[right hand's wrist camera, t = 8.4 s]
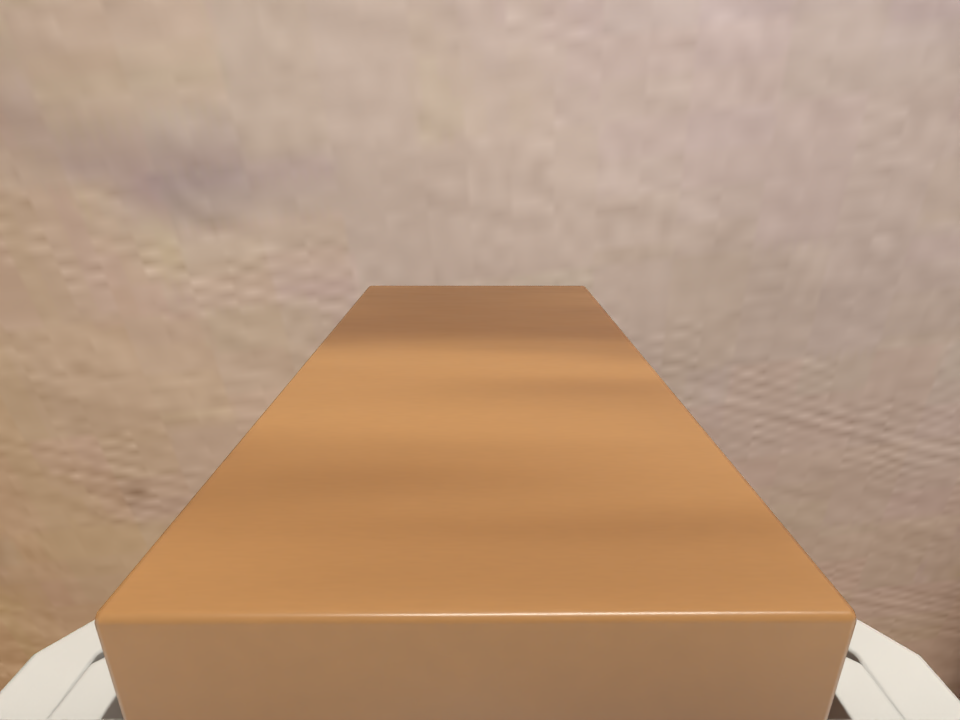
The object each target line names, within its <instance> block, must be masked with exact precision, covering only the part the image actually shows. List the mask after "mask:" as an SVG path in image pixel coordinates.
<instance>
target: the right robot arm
mask: <svg viewBox="0 0 960 720" xmlns="http://www.w3.org/2000/svg"><path fill="white" fill-rule="evenodd" d="M856 620H857V622H856V625H855V629H854V632H853V635H852V639H851V642H850V645H849V649H848V652H847V655H846V659H845V662H844V665H843V669H842V672H841V675H840V679H839V682H838V685H837V689H836V692H835V695H834V699H833V702H832V705H831V708H830V712H829V715H828V718H827V720H960V700H959V699H958V698H957V697H956V696H955V695H954V694H953V692H952V691H951V690H950V689H949V688H948V687H947V686H946V684H945V683H944V682H943V681H942V680H941V679H940V678H939V677H938V675H937V674H936V673H935V672H934V671H933V670H932V669H931V667H930V666H929V665H928V664H927V663H926V662H925V661H924V660H923V658H922V657H921V656H920V655H918V654H916V653H915V652H913V651H911V650H910V649H908V648H906V647H904V646H903V645H901V644H899V643H897V642H896V641H894V640H892V639H891V638H889V637H887V636H885V635H884V634H882V633H880V632H878V631H877V630H875V629H873V628H872V627H870V626H868V625H866V624H865V623H863V622H861V621H859V620H858V619H856ZM94 623H95V620H93V621H92V622H90V623H88V624H86V625H85V626H83V627H81V628H79V629H78V630H76V631H74V632H72V633H71V634H69V635H67V636H65V637H64V638H62V639H60V640H58V641H57V642H55V643H53V644H51V645H50V646H48V647H46V648H44V649H43V650H41V651H39V652H37V653H36V654H34V655H33V656H32V657H31V658H30V659H29V660H28V662H27V663H26V664H25V665H24V666H23V667H22V668H21V669H20V670H19V672H18V673H17V674H16V675H15V676H14V677H13V678H12V679H11V680H10V682H9V683H8V684H7V685H6V686H5V687H4V688H3V689H2V690H1V692H0V720H124V719H123V716H122V712H121V709H120V706H119V703H118V699H117V696H116V693H115V689H114V686H113V683H112V680H111V676H110V673H109V670H108V666H107V663H106V660H105V657H104V653H103V650H102V647H101V643H100V640H99V637H98V634H97V630H96V627H95V624H94Z"/></svg>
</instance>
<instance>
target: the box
mask: <svg viewBox="0 0 960 720" xmlns="http://www.w3.org/2000/svg"><path fill="white" fill-rule="evenodd" d="M856 622H857V620H856V615H855V612H854V610H853V609H852V608H851V606H850V605H849V604H848V603H847V602H846V600H845V599H844V598H843V597H842V595H841V594H840V593H839V592H838V591H837V589H836V588H835V587H834V586H833V585H832V583H831V582H830V581H829V580H828V579H827V577H826V576H825V575H824V574H823V573H822V571H821V570H820V569H819V568H818V567H817V565H816V564H815V563H814V562H813V561H812V559H811V558H810V557H809V556H808V555H807V553H806V552H805V551H804V550H803V549H802V547H801V546H800V545H799V544H798V543H797V541H796V540H795V539H794V538H793V537H792V535H791V534H790V533H789V532H788V531H787V529H786V528H785V527H784V526H783V525H782V523H781V522H780V521H779V520H778V518H777V517H776V516H775V515H774V514H773V512H772V511H771V510H770V509H769V508H768V506H767V505H766V504H765V503H764V502H763V500H762V499H761V498H760V497H759V496H758V494H757V493H756V492H755V491H754V490H753V488H752V487H751V486H750V485H749V484H748V482H747V481H746V480H745V479H744V478H743V476H742V475H741V474H740V473H739V472H738V470H737V469H736V468H735V467H734V466H733V464H732V463H731V462H730V461H729V460H728V458H727V457H726V456H725V455H724V454H723V452H722V451H721V450H720V449H719V447H718V446H717V445H716V444H715V443H714V441H713V440H712V439H711V438H710V437H709V435H708V434H707V433H706V432H705V431H704V429H703V428H702V427H701V426H700V425H699V423H698V422H697V421H696V420H695V419H694V417H693V416H692V415H691V414H690V413H689V411H688V410H687V409H686V408H685V407H684V405H683V404H682V403H681V402H680V401H679V399H678V398H677V397H676V396H675V395H674V393H673V392H672V391H671V390H670V389H669V387H668V386H667V385H666V384H665V383H664V381H663V380H662V379H661V378H660V376H659V375H658V374H657V373H656V372H655V370H654V369H653V368H652V367H651V366H650V364H649V363H648V362H647V361H646V360H645V358H644V357H643V356H642V355H641V354H640V352H639V351H638V350H637V349H636V348H635V346H634V345H633V344H632V343H631V342H630V340H629V339H628V338H627V337H626V336H625V334H624V333H623V332H622V331H621V330H620V328H619V327H618V326H617V325H616V324H615V322H614V321H613V320H612V319H611V318H610V316H609V315H608V314H607V313H606V312H605V310H604V309H603V308H602V307H601V305H600V304H599V303H598V302H597V301H596V299H595V298H594V297H593V296H592V295H591V293H590V292H589V291H588V290H587V289H586V287H584V286H370V287H369V288H368V289H367V290H366V291H365V292H364V294H363V295H362V296H361V297H360V298H359V300H358V301H357V302H356V303H355V304H354V306H353V307H352V308H351V309H350V310H349V311H348V313H347V314H346V315H345V316H344V317H343V319H342V320H341V321H340V322H339V323H338V325H337V326H336V327H335V328H334V329H333V331H332V332H331V333H330V334H329V335H328V337H327V338H326V339H325V340H324V341H323V343H322V344H321V345H320V346H319V347H318V349H317V350H316V351H315V352H314V353H313V355H312V356H311V357H310V358H309V359H308V361H307V362H306V363H305V364H304V365H303V367H302V368H301V369H300V370H299V371H298V373H297V374H296V375H295V376H294V377H293V379H292V380H291V381H290V382H289V383H288V385H287V386H286V387H285V388H284V389H283V391H282V392H281V393H280V394H279V395H278V396H277V398H276V399H275V400H274V401H273V402H272V404H271V405H270V406H269V407H268V408H267V410H266V411H265V412H264V413H263V414H262V416H261V417H260V418H259V419H258V420H257V422H256V423H255V424H254V425H253V426H252V428H251V429H250V430H249V431H248V432H247V434H246V435H245V436H244V437H243V438H242V440H241V441H240V442H239V443H238V444H237V446H236V447H235V448H234V449H233V450H232V452H231V453H230V454H229V455H228V456H227V458H226V459H225V460H224V461H223V462H222V464H221V465H220V466H219V467H218V468H217V470H216V471H215V472H214V473H213V474H212V476H211V477H210V478H209V479H208V480H207V481H206V483H205V484H204V485H203V486H202V487H201V489H200V490H199V491H198V492H197V493H196V495H195V496H194V497H193V498H192V499H191V501H190V502H189V503H188V504H187V505H186V507H185V508H184V509H183V510H182V511H181V513H180V514H179V515H178V516H177V517H176V519H175V520H174V521H173V522H172V523H171V525H170V526H169V527H168V528H167V529H166V531H165V532H164V533H163V534H162V535H161V537H160V538H159V539H158V540H157V541H156V543H155V544H154V545H153V546H152V547H151V549H150V550H149V551H148V552H147V553H146V555H145V556H144V557H143V558H142V559H141V561H140V562H139V563H138V564H137V565H136V566H135V568H134V569H133V570H132V571H131V572H130V574H129V575H128V576H127V577H126V578H125V580H124V581H123V582H122V583H121V584H120V586H119V587H118V588H117V589H116V590H115V592H114V593H113V594H112V595H111V596H110V598H109V599H108V600H107V601H106V602H105V604H104V605H103V606H102V607H101V608H100V610H99V611H98V612H97V614H96V617H95V623H94V624H95V627H96V630H97V634H98V637H99V640H100V643H101V647H102V650H103V653H104V657H105V660H106V663H107V666H108V670H109V673H110V676H111V680H112V683H113V686H114V689H115V693H116V696H117V699H118V703H119V706H120V709H121V712H122V716H123V719H124V720H827V718H828V715H829V712H830V708H831V705H832V702H833V699H834V695H835V692H836V689H837V685H838V682H839V679H840V675H841V672H842V669H843V665H844V662H845V659H846V655H847V652H848V649H849V645H850V642H851V639H852V635H853V632H854V629H855V625H856Z"/></svg>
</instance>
